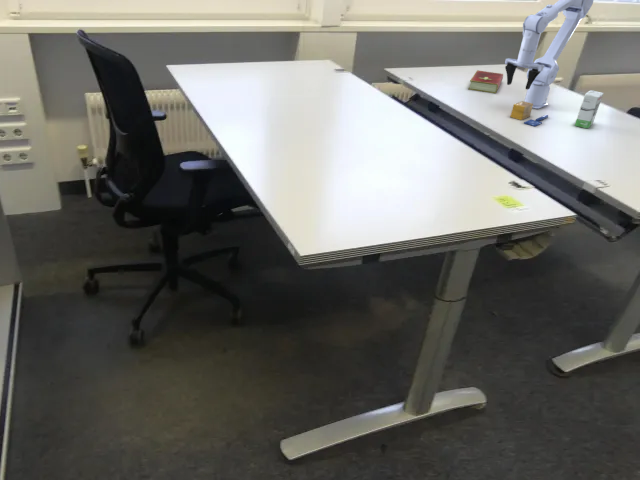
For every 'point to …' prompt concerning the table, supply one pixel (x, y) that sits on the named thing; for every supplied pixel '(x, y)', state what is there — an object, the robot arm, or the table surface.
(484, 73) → the hardcover book
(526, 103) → the block
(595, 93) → the ink box
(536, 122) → the spatula
